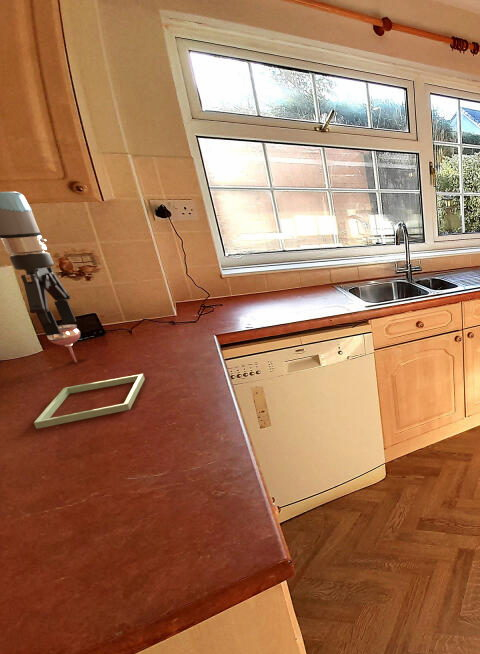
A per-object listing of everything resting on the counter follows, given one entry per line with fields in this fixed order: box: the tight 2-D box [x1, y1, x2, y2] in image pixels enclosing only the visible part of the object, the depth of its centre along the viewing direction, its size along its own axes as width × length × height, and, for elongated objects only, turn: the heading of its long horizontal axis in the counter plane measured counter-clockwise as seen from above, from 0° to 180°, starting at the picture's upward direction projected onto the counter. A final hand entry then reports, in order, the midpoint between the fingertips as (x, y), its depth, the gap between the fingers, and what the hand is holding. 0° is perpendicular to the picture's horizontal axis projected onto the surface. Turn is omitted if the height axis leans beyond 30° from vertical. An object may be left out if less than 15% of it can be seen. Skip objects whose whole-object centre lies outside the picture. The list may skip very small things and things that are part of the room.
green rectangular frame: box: [33, 373, 146, 430], centre depth 102 cm, size 16×20×3 cm
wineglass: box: [46, 323, 82, 363], centre depth 123 cm, size 7×7×12 cm
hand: (62, 328), depth 121 cm, fingers open, 13 cm apart
